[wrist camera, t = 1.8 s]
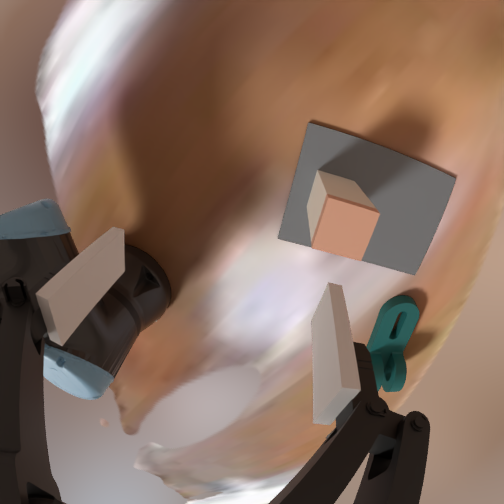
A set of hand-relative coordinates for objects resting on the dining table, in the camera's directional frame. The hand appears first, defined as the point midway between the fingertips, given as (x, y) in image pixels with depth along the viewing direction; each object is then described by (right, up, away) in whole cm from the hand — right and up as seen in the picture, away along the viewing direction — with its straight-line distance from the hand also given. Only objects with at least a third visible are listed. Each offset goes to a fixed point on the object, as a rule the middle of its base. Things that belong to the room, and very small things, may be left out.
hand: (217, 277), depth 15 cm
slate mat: (+18, +7, +21) cm, 28 cm away
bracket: (+26, -13, +31) cm, 43 cm away
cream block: (+12, +9, +20) cm, 25 cm away
